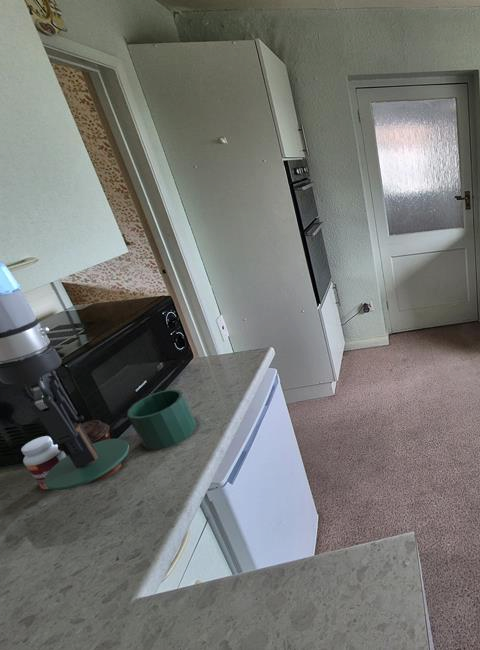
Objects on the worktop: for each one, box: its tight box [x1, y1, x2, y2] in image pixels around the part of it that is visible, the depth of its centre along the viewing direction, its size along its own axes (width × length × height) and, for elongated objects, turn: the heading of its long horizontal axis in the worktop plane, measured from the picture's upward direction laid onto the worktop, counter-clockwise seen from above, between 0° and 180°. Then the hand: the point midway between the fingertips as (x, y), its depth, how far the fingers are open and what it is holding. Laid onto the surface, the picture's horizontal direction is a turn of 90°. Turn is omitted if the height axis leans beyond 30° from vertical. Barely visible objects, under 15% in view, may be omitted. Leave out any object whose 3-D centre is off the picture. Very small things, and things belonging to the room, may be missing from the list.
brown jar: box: [58, 419, 122, 483], centre depth 87 cm, size 9×8×13 cm
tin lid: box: [44, 423, 130, 491], centre depth 73 cm, size 12×12×9 cm
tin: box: [127, 389, 197, 451], centre depth 98 cm, size 11×11×10 cm
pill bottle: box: [20, 435, 67, 490], centre depth 87 cm, size 6×6×11 cm
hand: (86, 457), depth 74 cm, fingers closed on tin lid, 3 cm apart
